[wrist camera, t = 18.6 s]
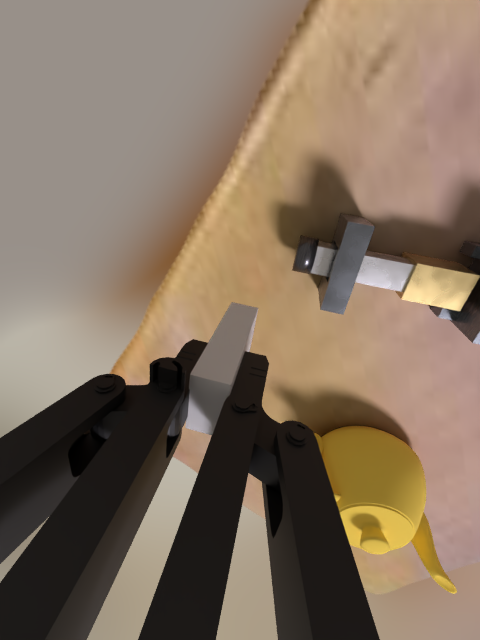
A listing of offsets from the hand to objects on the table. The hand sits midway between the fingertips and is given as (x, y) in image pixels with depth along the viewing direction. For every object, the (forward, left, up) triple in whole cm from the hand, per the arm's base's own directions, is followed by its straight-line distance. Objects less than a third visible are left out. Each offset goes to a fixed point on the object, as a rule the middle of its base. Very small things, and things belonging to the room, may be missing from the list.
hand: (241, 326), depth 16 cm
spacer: (0, +18, -23) cm, 29 cm away
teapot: (+33, +22, -23) cm, 46 cm away
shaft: (0, +9, -21) cm, 23 cm away
